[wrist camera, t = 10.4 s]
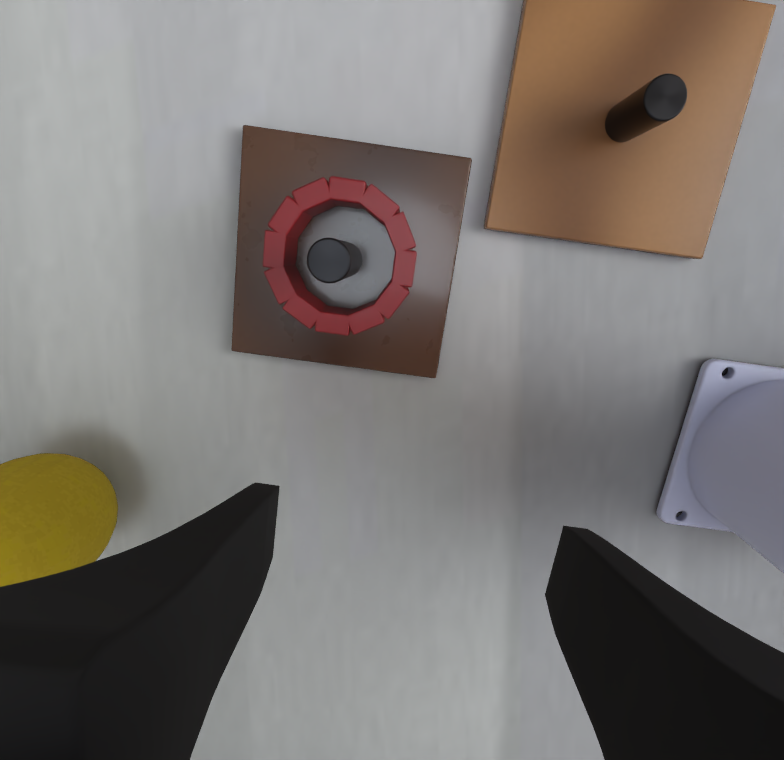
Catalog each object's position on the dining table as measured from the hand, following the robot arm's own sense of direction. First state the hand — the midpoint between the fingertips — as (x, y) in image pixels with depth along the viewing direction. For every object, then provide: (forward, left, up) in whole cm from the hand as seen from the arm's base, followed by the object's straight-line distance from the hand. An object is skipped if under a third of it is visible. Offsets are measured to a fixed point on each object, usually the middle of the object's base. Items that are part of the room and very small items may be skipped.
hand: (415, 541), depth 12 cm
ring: (+4, -6, -10) cm, 12 cm away
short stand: (-6, -13, -10) cm, 18 cm away
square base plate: (+4, -6, -10) cm, 13 cm away
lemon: (+15, +6, -10) cm, 19 cm away
